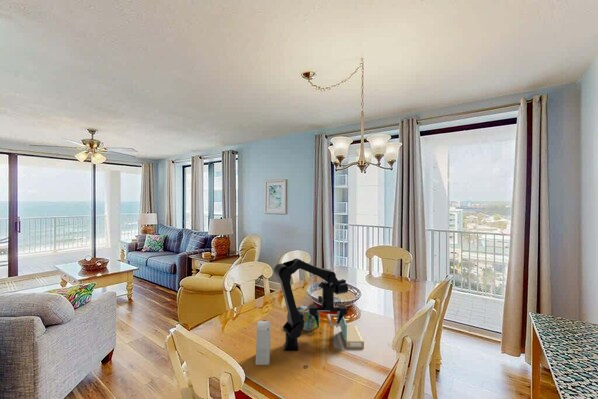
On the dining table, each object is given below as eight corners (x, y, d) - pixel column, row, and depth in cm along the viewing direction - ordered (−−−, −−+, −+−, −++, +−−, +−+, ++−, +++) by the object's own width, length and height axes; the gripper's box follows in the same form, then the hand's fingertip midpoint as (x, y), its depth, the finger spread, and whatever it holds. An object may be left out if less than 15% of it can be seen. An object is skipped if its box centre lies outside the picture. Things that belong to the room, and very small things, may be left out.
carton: (364, 348, 124) (364, 341, 124) (347, 347, 124) (347, 341, 124) (356, 331, 140) (356, 325, 140) (341, 331, 140) (341, 325, 140)
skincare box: (256, 354, 117) (257, 320, 117) (270, 353, 118) (270, 320, 118) (255, 365, 109) (256, 329, 109) (270, 365, 110) (270, 329, 110)
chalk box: (292, 325, 146) (313, 335, 135) (293, 308, 146) (313, 317, 136) (303, 320, 152) (324, 329, 142) (304, 304, 152) (324, 312, 142)
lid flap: (347, 324, 124) (330, 324, 124) (346, 340, 124) (329, 339, 124) (341, 311, 139) (326, 311, 139) (341, 325, 139) (326, 325, 139)
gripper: (343, 290, 140) (343, 319, 140) (308, 289, 140) (308, 319, 140) (347, 297, 129) (347, 330, 129) (309, 297, 129) (309, 329, 129)
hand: (327, 326), depth 132 cm, fingers open, 9 cm apart
